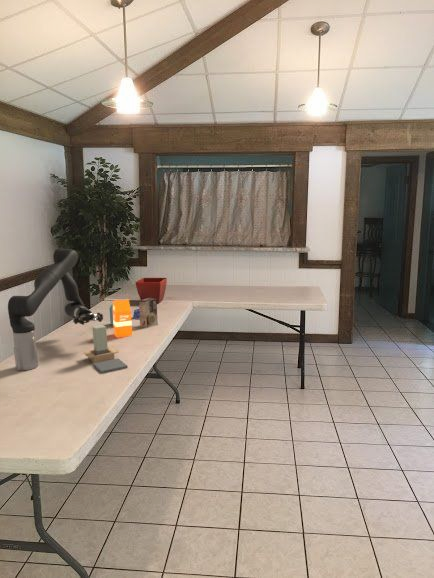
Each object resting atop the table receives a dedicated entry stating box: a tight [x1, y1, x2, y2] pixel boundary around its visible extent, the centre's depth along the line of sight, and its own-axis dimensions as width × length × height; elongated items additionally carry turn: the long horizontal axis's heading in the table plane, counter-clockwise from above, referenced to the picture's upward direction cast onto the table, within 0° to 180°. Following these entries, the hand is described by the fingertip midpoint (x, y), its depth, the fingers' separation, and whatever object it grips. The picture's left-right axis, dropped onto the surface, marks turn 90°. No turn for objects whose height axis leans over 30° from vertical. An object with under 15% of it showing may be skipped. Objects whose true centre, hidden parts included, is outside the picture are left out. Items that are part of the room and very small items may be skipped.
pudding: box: [131, 308, 140, 320], centre depth 298 cm, size 12×12×5 cm
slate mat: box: [92, 358, 128, 374], centre depth 208 cm, size 12×12×1 cm
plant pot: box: [135, 277, 168, 304], centre depth 342 cm, size 19×19×17 cm
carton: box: [82, 346, 120, 364], centre depth 219 cm, size 15×10×4 cm, turn 122°
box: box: [91, 324, 108, 355], centre depth 218 cm, size 5×5×16 cm
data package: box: [109, 304, 114, 326], centre depth 281 cm, size 12×4×12 cm, turn 96°
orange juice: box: [112, 298, 133, 338], centre depth 257 cm, size 8×9×20 cm
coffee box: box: [138, 298, 159, 329], centre depth 276 cm, size 9×6×16 cm
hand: (92, 321), depth 227 cm, fingers open, 8 cm apart
